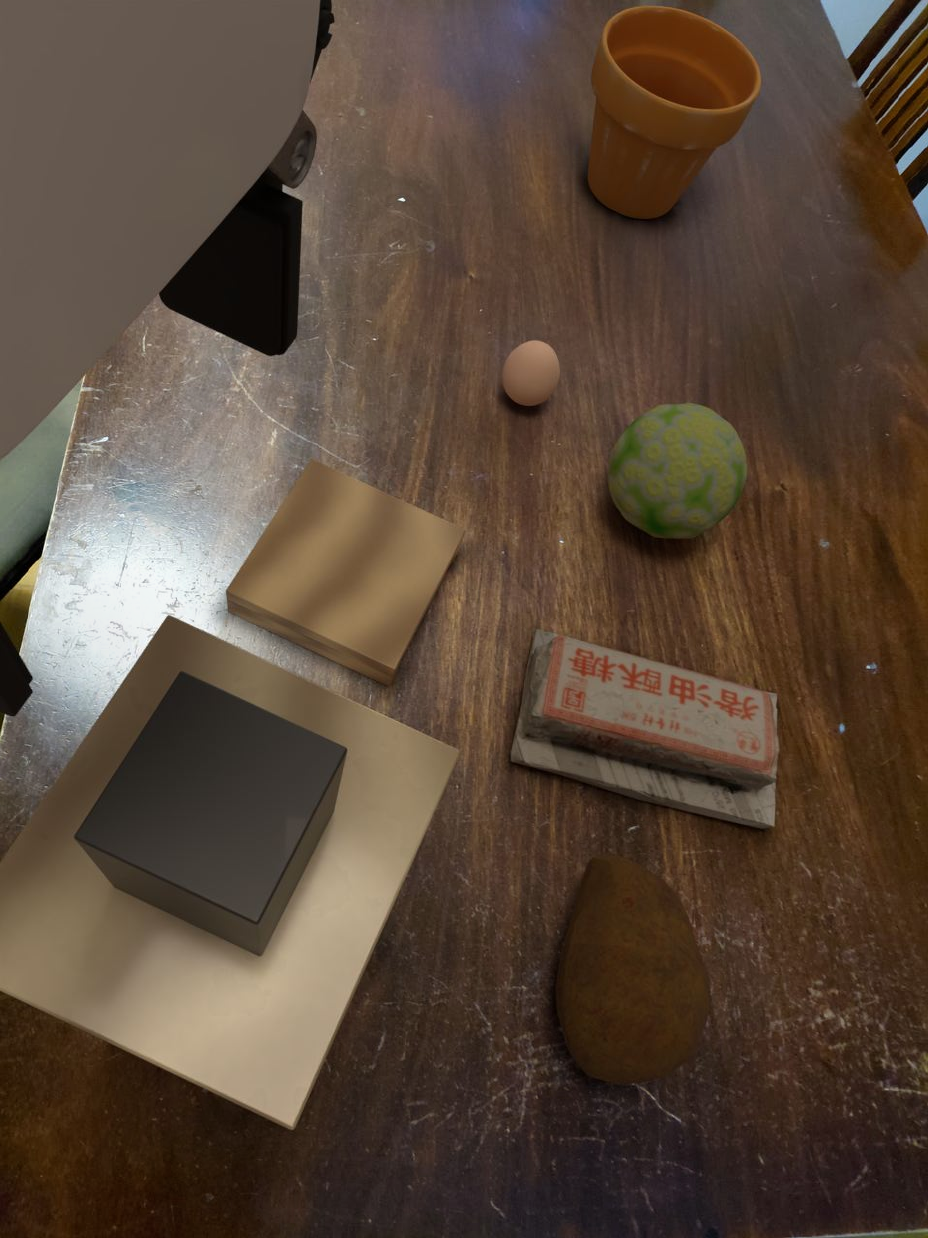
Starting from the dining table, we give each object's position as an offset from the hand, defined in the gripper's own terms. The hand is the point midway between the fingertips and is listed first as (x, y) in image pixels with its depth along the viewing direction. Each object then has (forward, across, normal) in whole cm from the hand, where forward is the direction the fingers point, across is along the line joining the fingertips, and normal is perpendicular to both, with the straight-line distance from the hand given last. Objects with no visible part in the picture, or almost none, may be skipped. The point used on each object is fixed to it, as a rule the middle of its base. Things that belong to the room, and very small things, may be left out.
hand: (106, 475), depth 19 cm
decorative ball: (+40, -38, +16) cm, 58 cm away
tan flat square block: (+40, -21, -2) cm, 45 cm away
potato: (+40, -4, +25) cm, 47 cm away
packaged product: (+40, -20, +21) cm, 50 cm away
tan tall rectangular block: (+40, +4, +5) cm, 40 cm away
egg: (+40, -43, +3) cm, 59 cm away
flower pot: (+40, -73, +3) cm, 84 cm away
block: (+10, +4, +4) cm, 12 cm away
